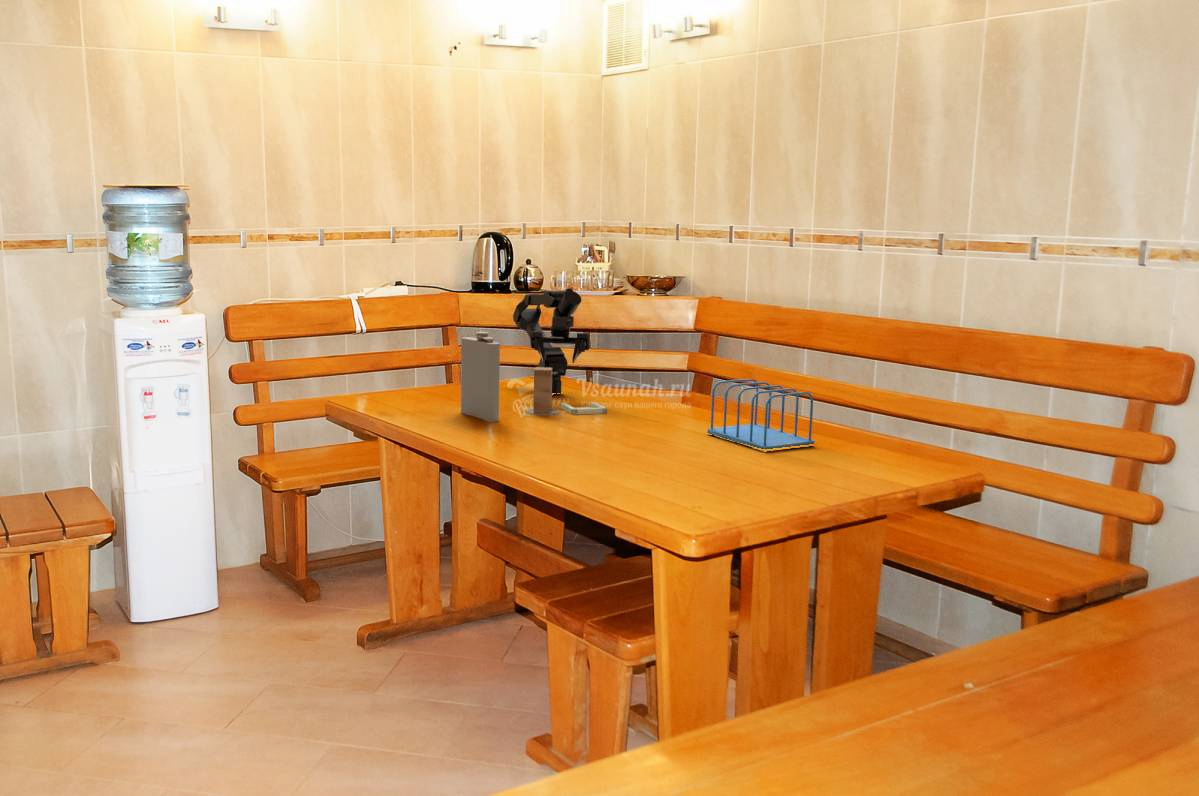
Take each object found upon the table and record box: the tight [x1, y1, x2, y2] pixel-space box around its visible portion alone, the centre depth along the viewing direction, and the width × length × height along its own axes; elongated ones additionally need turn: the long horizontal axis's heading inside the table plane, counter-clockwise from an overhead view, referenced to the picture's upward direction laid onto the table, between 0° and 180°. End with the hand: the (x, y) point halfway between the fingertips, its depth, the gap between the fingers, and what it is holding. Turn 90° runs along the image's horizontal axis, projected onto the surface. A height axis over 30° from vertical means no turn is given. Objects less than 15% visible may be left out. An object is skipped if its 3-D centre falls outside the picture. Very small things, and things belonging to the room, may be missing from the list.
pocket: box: [560, 401, 608, 416], centre depth 337 cm, size 11×11×2 cm
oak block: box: [532, 366, 553, 413], centre depth 332 cm, size 5×5×13 cm
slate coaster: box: [523, 408, 562, 416], centre depth 333 cm, size 11×11×1 cm
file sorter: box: [706, 378, 815, 449], centre depth 301 cm, size 25×17×15 cm
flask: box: [460, 331, 501, 423], centre depth 324 cm, size 17×5×25 cm, turn 37°
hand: (558, 361), depth 347 cm, fingers open, 9 cm apart
